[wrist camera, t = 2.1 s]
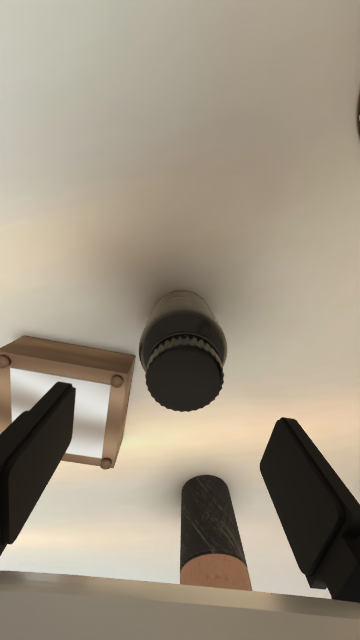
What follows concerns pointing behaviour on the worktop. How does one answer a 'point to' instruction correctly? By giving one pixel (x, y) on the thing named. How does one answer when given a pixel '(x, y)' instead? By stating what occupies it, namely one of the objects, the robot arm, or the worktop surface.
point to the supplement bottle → (183, 352)
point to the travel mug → (210, 537)
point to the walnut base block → (91, 392)
